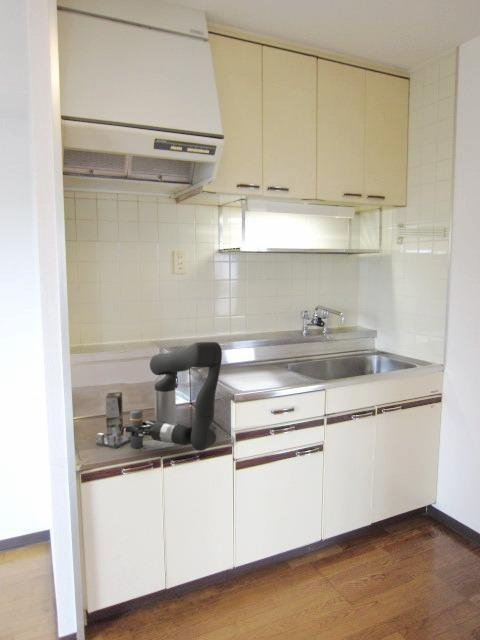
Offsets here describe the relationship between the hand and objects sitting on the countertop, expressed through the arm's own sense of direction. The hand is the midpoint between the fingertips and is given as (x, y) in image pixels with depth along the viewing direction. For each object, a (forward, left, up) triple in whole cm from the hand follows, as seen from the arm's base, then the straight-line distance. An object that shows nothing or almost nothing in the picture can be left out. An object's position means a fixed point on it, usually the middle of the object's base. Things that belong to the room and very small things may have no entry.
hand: (131, 425), depth 182 cm
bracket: (0, -9, -8) cm, 12 cm away
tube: (0, +2, -8) cm, 8 cm away
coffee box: (-11, -18, -8) cm, 22 cm away
